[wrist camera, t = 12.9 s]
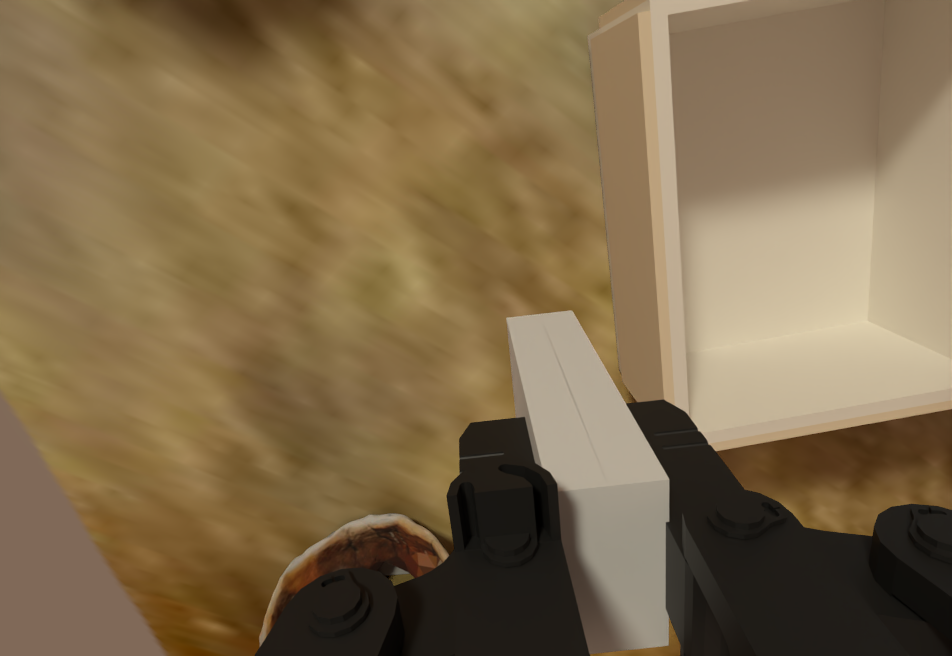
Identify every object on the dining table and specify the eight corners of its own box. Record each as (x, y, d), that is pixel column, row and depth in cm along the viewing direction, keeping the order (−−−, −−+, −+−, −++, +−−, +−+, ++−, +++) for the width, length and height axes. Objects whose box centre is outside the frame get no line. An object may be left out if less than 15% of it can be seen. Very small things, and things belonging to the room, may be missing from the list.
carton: (577, 27, 38) (635, -14, 27) (890, -29, 38) (1079, -93, 27) (612, 378, 47) (668, 459, 35) (869, 332, 47) (1008, 398, 35)
